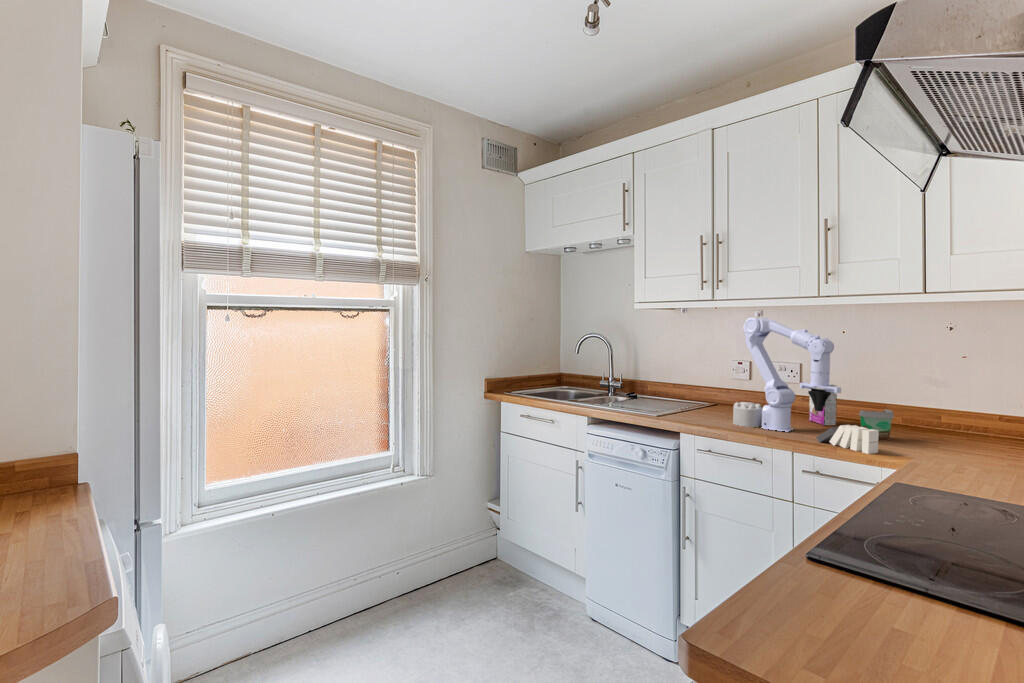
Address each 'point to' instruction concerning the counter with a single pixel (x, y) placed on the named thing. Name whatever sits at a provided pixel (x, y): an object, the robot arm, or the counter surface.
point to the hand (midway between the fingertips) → (818, 411)
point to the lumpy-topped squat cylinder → (747, 414)
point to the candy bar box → (824, 410)
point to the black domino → (827, 434)
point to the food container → (877, 422)
